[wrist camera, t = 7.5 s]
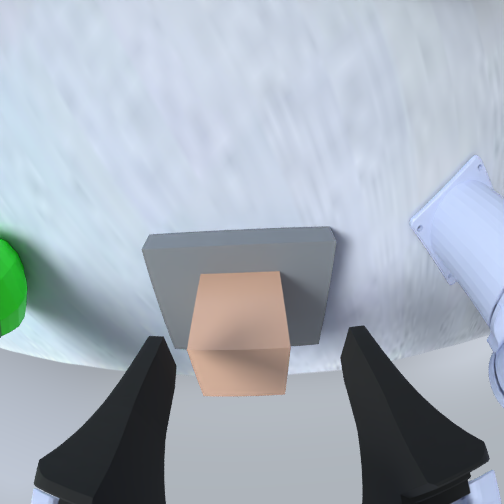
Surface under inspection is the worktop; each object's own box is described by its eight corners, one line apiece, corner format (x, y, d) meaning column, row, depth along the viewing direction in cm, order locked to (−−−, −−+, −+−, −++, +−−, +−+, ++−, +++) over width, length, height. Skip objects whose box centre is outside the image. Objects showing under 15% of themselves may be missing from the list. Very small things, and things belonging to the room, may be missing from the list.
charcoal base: (329, 226, 18) (336, 240, 17) (314, 328, 24) (318, 344, 22) (149, 234, 18) (141, 249, 17) (178, 332, 24) (174, 348, 23)
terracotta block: (279, 271, 18) (290, 347, 13) (277, 324, 21) (284, 394, 16) (200, 274, 18) (186, 349, 13) (210, 326, 21) (203, 395, 16)
